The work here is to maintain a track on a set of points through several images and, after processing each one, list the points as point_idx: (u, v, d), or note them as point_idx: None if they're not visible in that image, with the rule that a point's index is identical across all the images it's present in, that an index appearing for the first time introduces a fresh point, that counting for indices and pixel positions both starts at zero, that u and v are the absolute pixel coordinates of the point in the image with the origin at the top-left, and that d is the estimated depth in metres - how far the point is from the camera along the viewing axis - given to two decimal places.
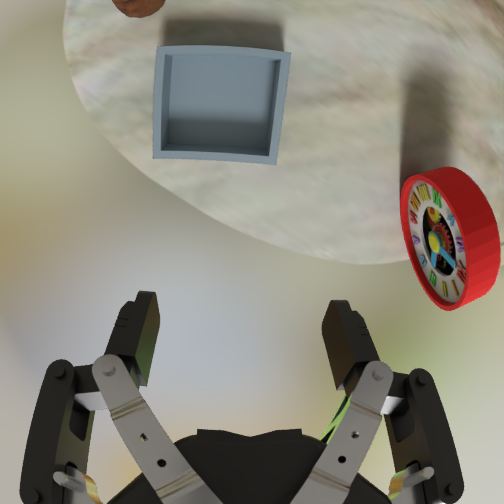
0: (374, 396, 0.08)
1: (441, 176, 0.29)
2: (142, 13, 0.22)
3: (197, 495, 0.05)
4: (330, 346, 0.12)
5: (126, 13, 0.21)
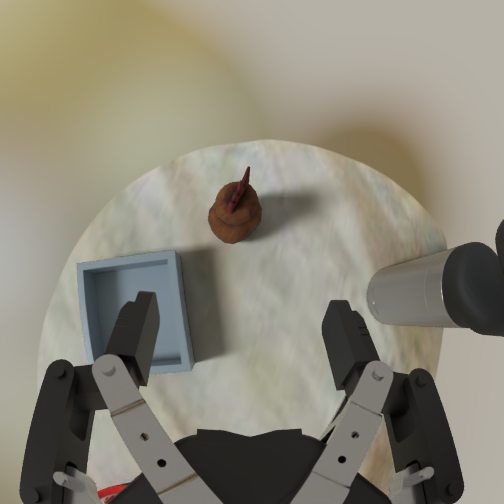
0: (374, 396, 0.08)
1: None
2: None
3: (197, 495, 0.05)
4: (330, 346, 0.12)
5: (209, 211, 0.35)
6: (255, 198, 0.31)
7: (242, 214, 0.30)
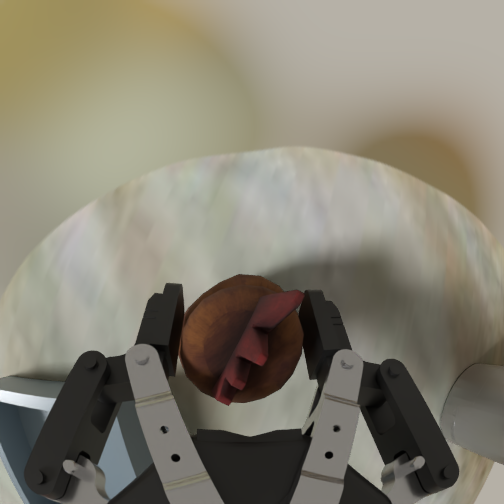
0: (347, 386, 0.08)
1: None
2: None
3: (197, 495, 0.05)
4: (304, 336, 0.13)
5: None
6: (299, 344, 0.10)
7: (261, 395, 0.09)
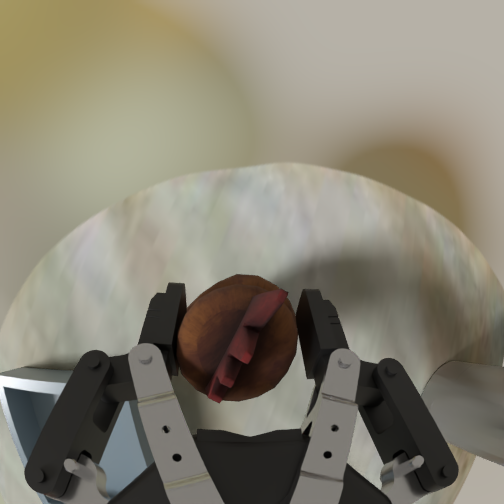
0: (345, 385, 0.09)
1: None
2: None
3: (197, 495, 0.05)
4: (302, 335, 0.13)
5: None
6: (292, 343, 0.10)
7: (255, 394, 0.09)
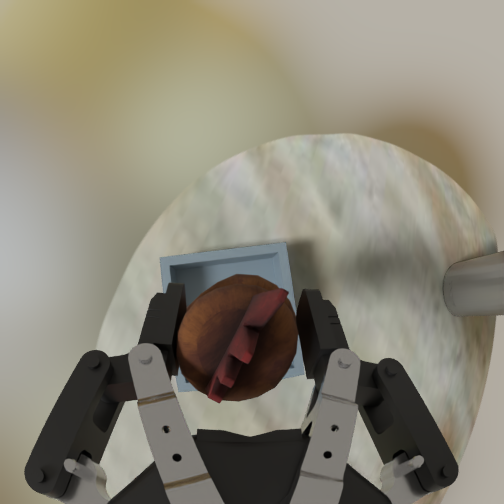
0: (345, 385, 0.09)
1: None
2: None
3: (197, 495, 0.05)
4: (302, 335, 0.13)
5: None
6: (293, 343, 0.10)
7: (255, 394, 0.09)
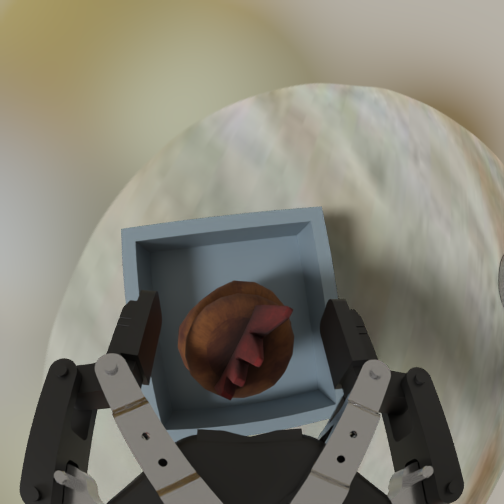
0: (371, 395, 0.08)
1: None
2: None
3: (197, 495, 0.05)
4: (328, 345, 0.12)
5: (179, 333, 0.16)
6: (290, 346, 0.11)
7: (258, 391, 0.11)
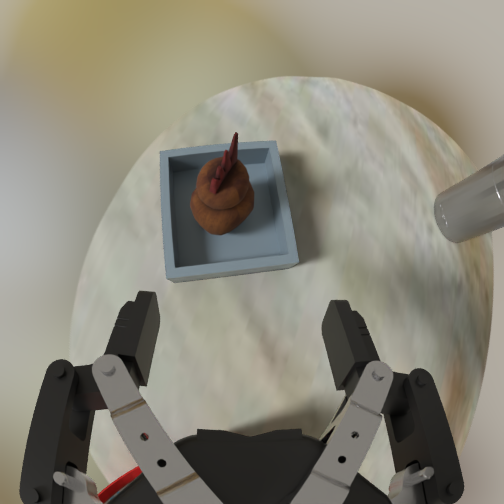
0: (374, 396, 0.08)
1: None
2: (193, 214, 0.29)
3: (197, 495, 0.05)
4: (330, 346, 0.12)
5: (191, 196, 0.29)
6: (246, 175, 0.24)
7: (230, 195, 0.24)
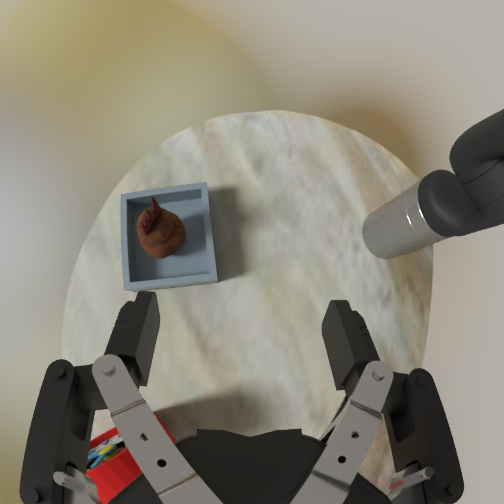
0: (374, 396, 0.08)
1: None
2: None
3: (197, 495, 0.05)
4: (330, 346, 0.12)
5: None
6: (167, 221, 0.34)
7: (156, 236, 0.34)
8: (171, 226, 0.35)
